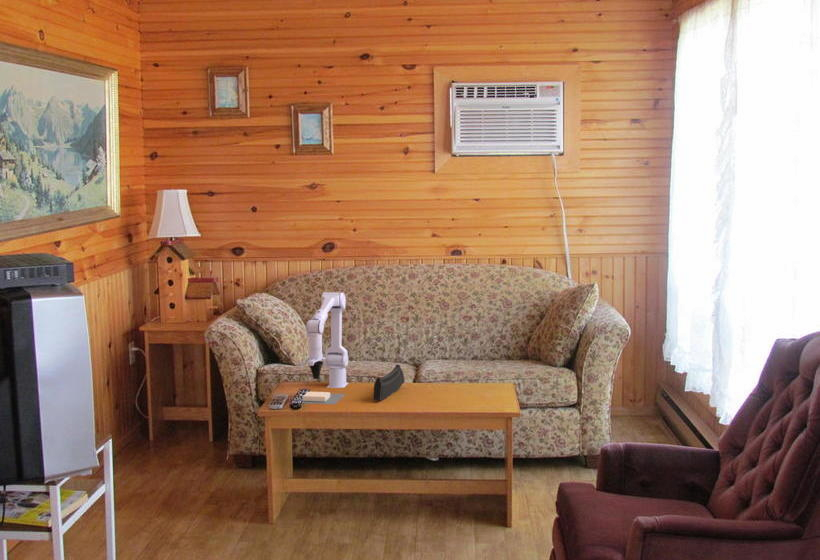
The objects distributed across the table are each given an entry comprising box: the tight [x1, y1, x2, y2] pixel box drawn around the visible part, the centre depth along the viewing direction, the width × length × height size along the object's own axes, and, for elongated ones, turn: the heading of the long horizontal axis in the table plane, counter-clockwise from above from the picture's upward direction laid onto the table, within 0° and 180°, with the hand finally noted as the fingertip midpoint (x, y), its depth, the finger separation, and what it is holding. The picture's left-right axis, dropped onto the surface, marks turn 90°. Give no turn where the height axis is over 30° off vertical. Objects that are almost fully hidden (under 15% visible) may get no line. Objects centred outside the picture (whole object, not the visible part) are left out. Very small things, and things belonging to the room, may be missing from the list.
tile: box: [303, 391, 331, 402], centre depth 396 cm, size 2×10×8 cm
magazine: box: [372, 364, 405, 401], centre depth 404 cm, size 17×3×30 cm
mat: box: [289, 393, 346, 406], centre depth 399 cm, size 18×20×1 cm
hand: (316, 378), depth 396 cm, fingers closed
